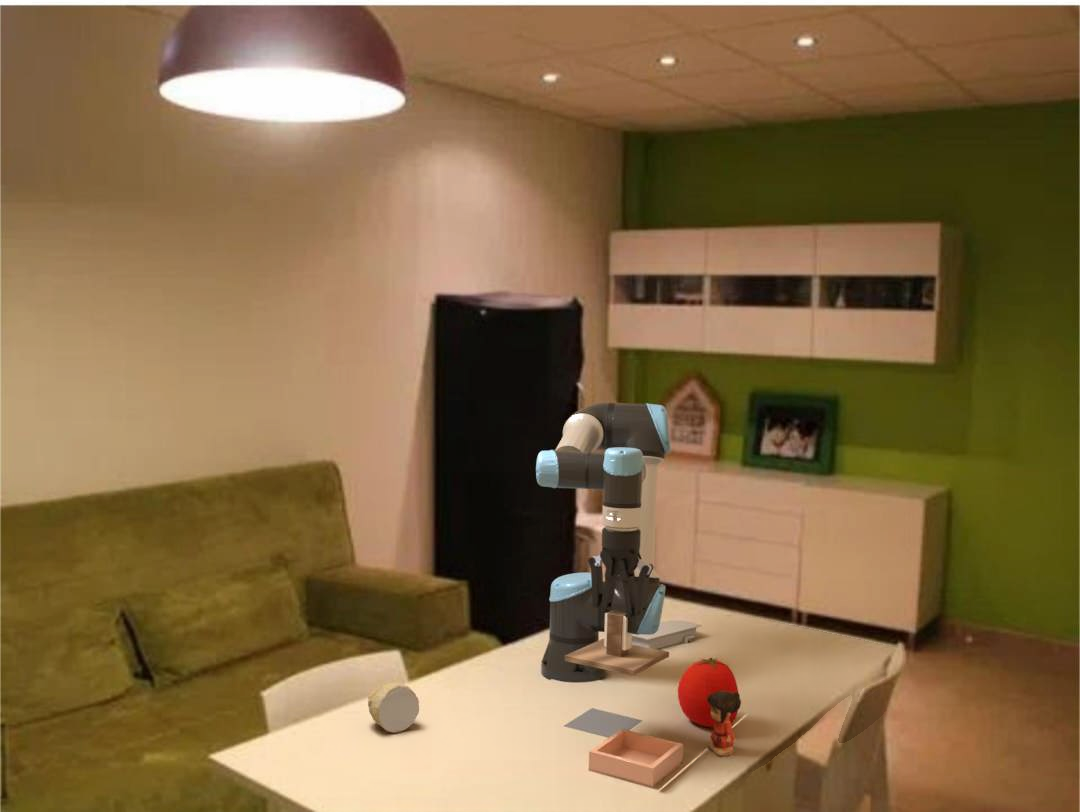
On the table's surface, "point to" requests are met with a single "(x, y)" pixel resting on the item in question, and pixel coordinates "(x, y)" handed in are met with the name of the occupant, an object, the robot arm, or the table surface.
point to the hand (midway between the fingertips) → (617, 646)
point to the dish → (636, 758)
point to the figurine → (723, 721)
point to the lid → (616, 651)
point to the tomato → (704, 689)
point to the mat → (602, 722)
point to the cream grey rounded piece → (393, 706)
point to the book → (667, 634)
